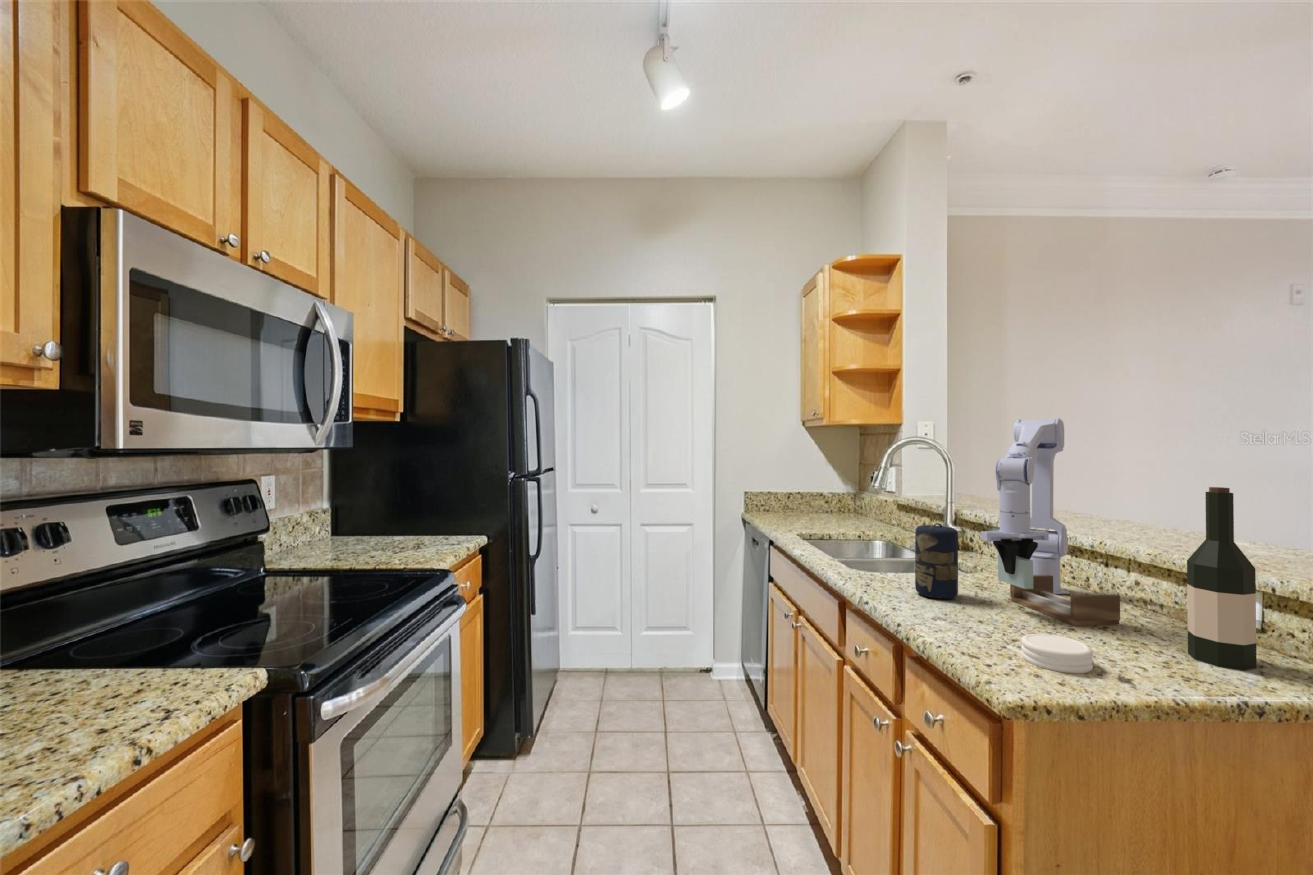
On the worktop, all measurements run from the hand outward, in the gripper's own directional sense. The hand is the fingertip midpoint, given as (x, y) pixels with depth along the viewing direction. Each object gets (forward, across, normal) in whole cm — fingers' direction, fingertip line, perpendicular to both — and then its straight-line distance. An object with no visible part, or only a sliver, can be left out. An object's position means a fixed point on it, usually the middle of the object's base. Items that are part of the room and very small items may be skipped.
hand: (1015, 573), depth 122 cm
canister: (+9, -9, +15) cm, 20 cm away
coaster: (+9, -13, -26) cm, 31 cm away
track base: (+9, +11, 0) cm, 14 cm away
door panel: (+2, 0, 0) cm, 2 cm away
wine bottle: (+9, +16, -28) cm, 34 cm away
